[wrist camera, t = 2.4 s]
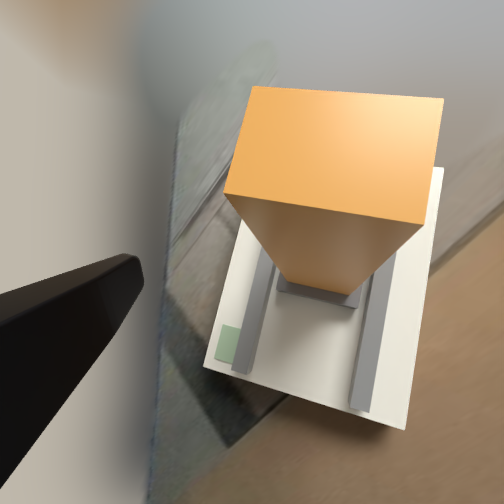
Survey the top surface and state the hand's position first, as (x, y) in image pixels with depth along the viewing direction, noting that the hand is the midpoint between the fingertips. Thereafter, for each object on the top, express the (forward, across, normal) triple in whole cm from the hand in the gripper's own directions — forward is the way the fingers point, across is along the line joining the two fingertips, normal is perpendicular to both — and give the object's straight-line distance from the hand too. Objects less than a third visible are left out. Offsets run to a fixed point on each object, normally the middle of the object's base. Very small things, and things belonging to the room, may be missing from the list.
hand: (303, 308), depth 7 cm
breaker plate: (+10, 0, +6) cm, 11 cm away
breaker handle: (+8, 0, +5) cm, 9 cm away
